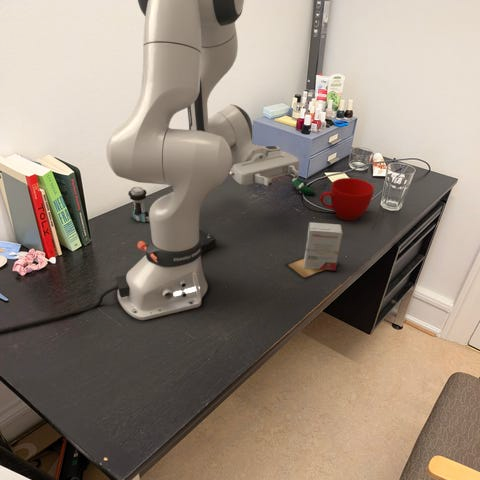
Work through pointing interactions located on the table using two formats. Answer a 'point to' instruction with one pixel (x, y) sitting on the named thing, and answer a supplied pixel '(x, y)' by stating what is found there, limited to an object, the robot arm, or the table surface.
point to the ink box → (322, 246)
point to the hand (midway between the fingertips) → (283, 179)
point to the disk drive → (206, 240)
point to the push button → (139, 204)
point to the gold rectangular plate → (303, 269)
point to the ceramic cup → (349, 197)
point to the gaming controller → (302, 186)
